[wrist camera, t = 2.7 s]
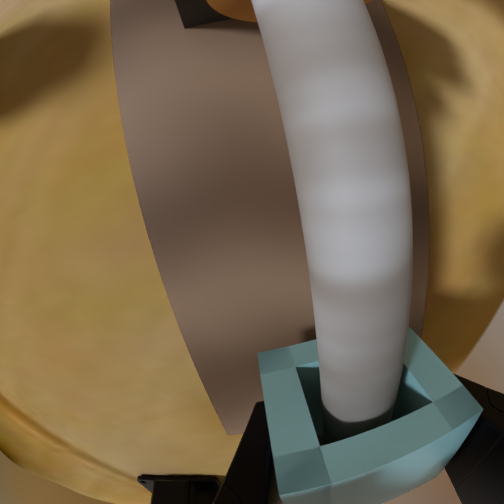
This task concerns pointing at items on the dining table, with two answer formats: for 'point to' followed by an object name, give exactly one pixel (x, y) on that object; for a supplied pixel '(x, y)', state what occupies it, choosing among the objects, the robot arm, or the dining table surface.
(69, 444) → the dining table surface
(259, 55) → the rod stand
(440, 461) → the sleeve
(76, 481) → the dining table surface
